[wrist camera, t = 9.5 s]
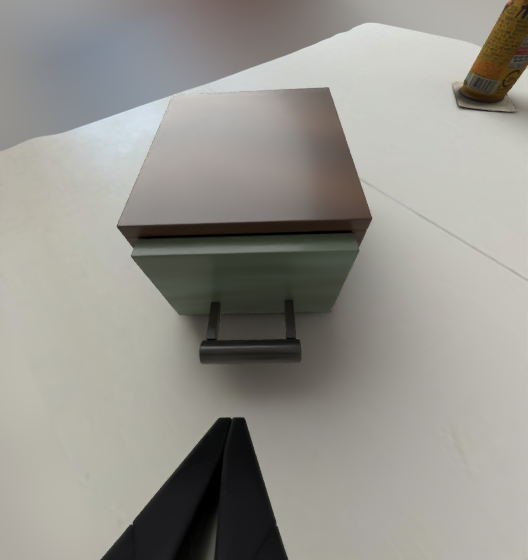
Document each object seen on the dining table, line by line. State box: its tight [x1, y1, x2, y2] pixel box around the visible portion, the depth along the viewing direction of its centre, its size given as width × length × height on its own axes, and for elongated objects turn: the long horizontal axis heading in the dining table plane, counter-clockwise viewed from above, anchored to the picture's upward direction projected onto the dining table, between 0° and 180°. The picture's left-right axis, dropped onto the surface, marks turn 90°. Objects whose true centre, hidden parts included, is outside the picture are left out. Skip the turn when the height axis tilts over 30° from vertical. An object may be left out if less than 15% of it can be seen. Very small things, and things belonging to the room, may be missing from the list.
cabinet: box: [117, 87, 372, 248], centre depth 20 cm, size 15×13×9 cm
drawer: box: [131, 231, 359, 364], centre depth 18 cm, size 18×11×7 cm, turn 0°
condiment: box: [452, 0, 528, 112], centre depth 31 cm, size 7×8×12 cm
